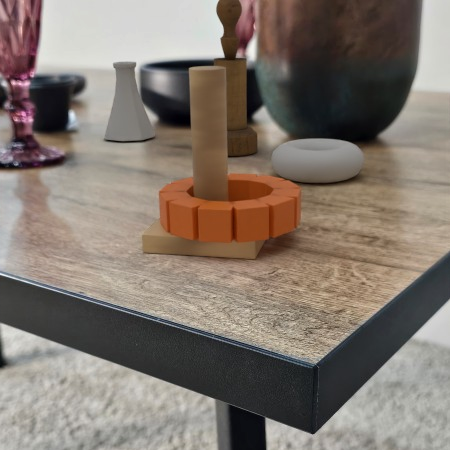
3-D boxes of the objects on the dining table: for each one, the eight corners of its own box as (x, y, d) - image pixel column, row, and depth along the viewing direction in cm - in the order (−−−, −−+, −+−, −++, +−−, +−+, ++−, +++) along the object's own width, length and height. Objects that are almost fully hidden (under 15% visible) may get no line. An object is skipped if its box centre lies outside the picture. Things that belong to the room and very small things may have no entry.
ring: (143, 238, 57) (141, 205, 56) (182, 200, 67) (181, 171, 66) (289, 246, 54) (289, 212, 53) (307, 205, 64) (307, 175, 63)
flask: (162, 133, 105) (158, 59, 101) (146, 143, 99) (141, 65, 95) (114, 132, 107) (109, 59, 103) (95, 142, 100) (88, 65, 96)
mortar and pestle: (266, 148, 94) (266, -5, 87) (243, 158, 89) (242, -4, 82) (220, 144, 97) (216, -4, 90) (195, 154, 92) (190, -3, 85)
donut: (262, 169, 84) (282, 188, 75) (262, 138, 83) (282, 155, 74) (347, 164, 86) (376, 183, 77) (348, 134, 84) (378, 149, 75)
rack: (142, 252, 58) (130, 74, 53) (175, 219, 66) (168, 61, 61) (255, 259, 56) (254, 74, 51) (274, 224, 64) (276, 62, 59)
